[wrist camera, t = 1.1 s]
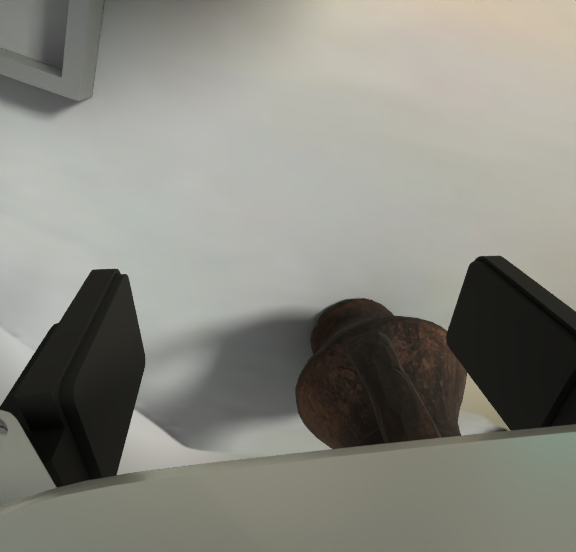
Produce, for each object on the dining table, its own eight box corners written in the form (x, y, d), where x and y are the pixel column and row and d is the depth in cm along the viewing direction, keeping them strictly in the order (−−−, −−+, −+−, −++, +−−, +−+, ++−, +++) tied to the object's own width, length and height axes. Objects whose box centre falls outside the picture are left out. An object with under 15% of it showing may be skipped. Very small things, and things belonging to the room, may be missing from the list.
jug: (436, 352, 52) (642, 637, 26) (315, 402, 54) (398, 718, 28) (399, 226, 41) (688, 501, 16) (249, 294, 43) (286, 646, 17)
